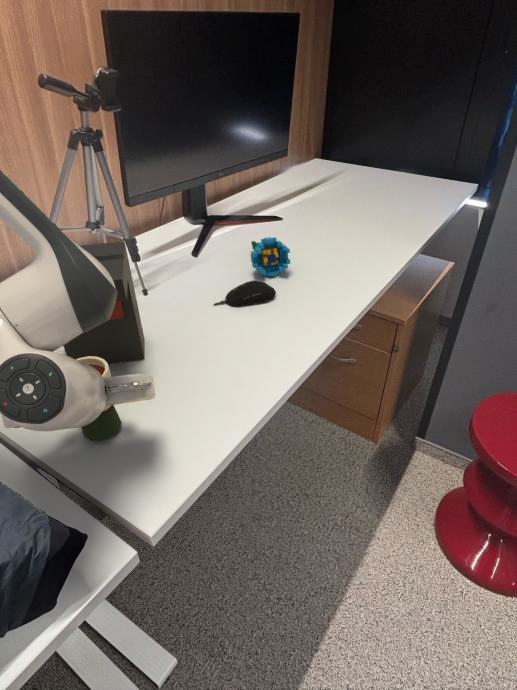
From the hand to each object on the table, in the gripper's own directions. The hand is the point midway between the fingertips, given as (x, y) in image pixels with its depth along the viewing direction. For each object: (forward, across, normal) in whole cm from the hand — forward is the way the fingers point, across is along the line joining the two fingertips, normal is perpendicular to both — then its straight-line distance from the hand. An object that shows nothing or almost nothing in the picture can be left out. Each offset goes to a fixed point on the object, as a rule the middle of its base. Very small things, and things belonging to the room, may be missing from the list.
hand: (93, 397), depth 76 cm
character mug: (+5, 0, +5) cm, 7 cm away
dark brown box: (+17, 0, -7) cm, 18 cm away
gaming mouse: (+29, -30, -19) cm, 46 cm away
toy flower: (+41, -38, -31) cm, 64 cm away
